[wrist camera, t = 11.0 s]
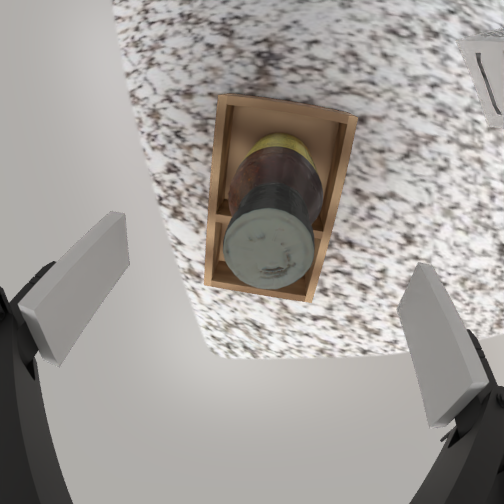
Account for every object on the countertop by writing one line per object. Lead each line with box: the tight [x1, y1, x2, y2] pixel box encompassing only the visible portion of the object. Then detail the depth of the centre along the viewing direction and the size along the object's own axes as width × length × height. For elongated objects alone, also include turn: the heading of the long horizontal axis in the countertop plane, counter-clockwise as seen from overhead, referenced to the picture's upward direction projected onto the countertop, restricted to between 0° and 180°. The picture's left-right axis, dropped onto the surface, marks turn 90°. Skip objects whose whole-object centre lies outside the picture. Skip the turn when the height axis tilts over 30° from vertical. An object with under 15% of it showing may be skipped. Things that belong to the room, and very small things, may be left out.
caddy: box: [204, 93, 358, 303], centre depth 31 cm, size 20×12×5 cm, turn 173°
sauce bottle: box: [223, 133, 323, 289], centre depth 22 cm, size 7×6×20 cm
